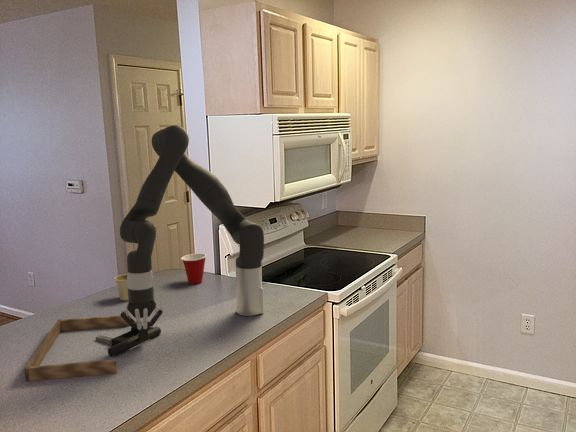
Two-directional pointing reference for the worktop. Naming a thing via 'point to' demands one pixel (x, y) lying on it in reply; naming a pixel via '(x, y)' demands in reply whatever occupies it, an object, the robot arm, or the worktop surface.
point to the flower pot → (122, 286)
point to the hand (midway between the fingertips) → (143, 339)
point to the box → (72, 369)
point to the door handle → (127, 340)
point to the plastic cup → (194, 267)
